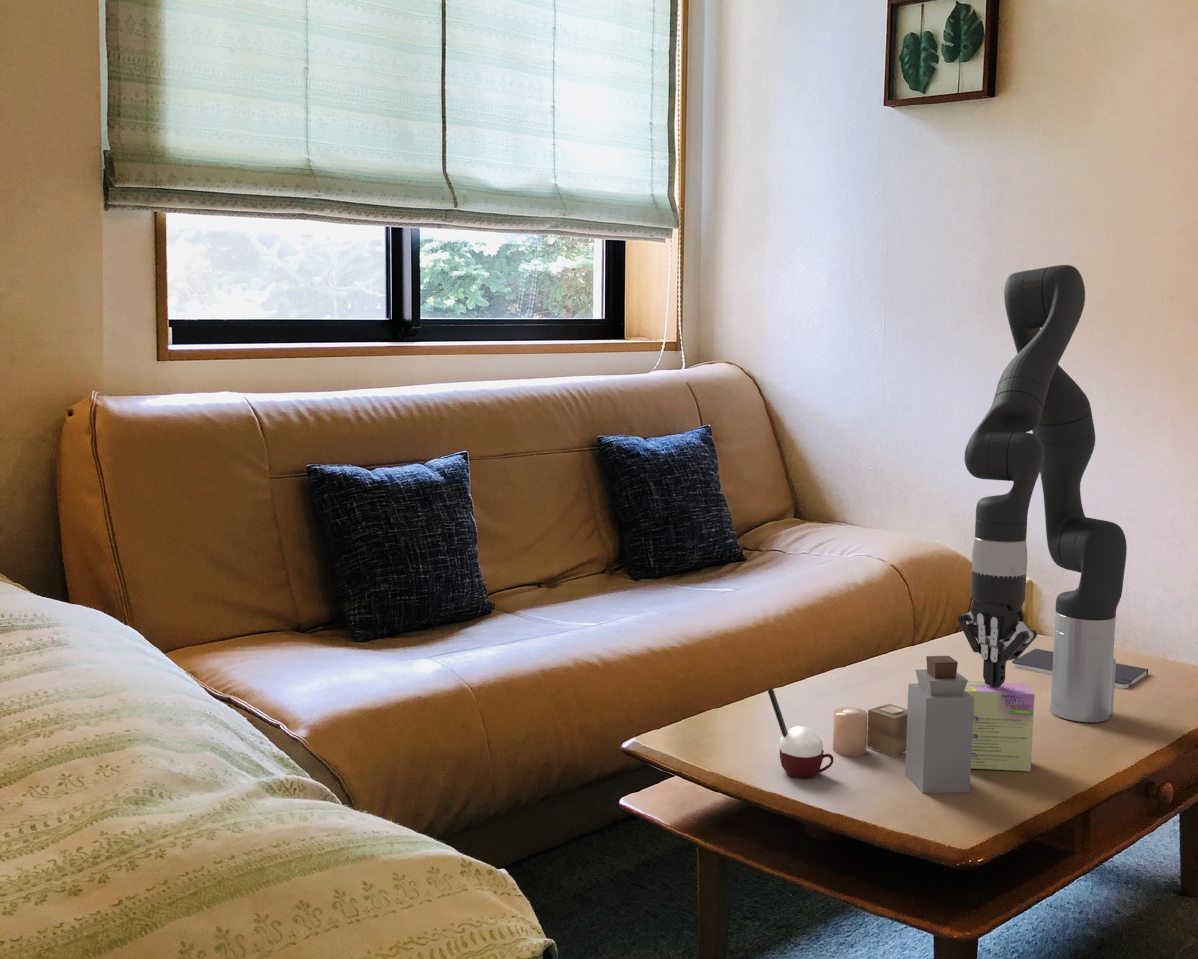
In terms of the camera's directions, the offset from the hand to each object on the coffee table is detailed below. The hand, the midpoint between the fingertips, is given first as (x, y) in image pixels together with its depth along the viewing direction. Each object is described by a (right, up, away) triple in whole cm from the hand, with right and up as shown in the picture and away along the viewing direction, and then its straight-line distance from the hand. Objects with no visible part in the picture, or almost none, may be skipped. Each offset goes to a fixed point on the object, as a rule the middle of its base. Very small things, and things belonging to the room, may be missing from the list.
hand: (993, 684), depth 163 cm
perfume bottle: (-10, -13, -6) cm, 18 cm away
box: (0, -12, +1) cm, 12 cm away
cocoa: (-29, -13, -2) cm, 32 cm away
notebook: (+34, -7, +49) cm, 60 cm away
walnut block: (-13, -11, +8) cm, 19 cm away
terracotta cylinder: (-20, -11, +7) cm, 24 cm away
